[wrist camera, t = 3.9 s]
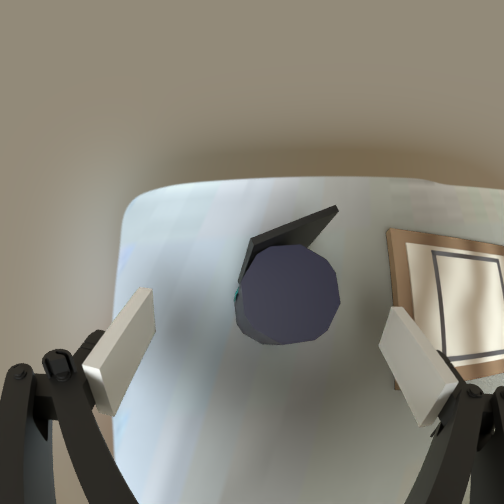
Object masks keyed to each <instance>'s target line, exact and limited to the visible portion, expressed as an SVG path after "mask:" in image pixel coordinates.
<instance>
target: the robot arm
mask: <svg viewBox="0 0 504 504" xmlns="http://www.w3.org/2000/svg"><path fill="white" fill-rule="evenodd" d="M155 332H156V329H155V318H154V305H153V290H152V289H150V288H141V287H139V288H138V289H137V291H136V292H135V293H134V295H133V296H132V297H131V298H130V300H129V301H128V302H127V304H126V305H125V306H124V308H123V309H122V310H121V312H120V313H119V314H118V315H117V317H116V318H115V319H114V321H113V322H112V324H111V325H110V326H109V328H108V329H107V330H106V331H103V330H96V331H95V332H93V333H91V334H90V335H89V336H88V337H87V338H86V340H85V341H84V343H83V344H82V345H81V347H80V348H79V349H78V350H77V352H76V353H75V354H74V355H73V356H72V355H71V353H70V352H69V351H67V350H64V349H55V350H52V351H49V352H48V353H46V354H45V355H44V357H43V358H42V364H43V367H44V370H45V372H46V374H35V373H34V372H33V369H32V368H31V366H29V365H28V364H24V363H21V364H16V365H14V366H12V367H11V368H10V369H9V370H8V372H7V375H6V378H5V382H4V386H3V391H2V395H1V400H0V504H56V499H55V488H54V476H53V456H52V420H58V421H59V425H60V428H61V431H62V434H63V438H64V441H65V444H66V447H67V450H68V453H69V456H70V458H71V461H72V464H73V467H74V469H75V472H76V474H77V477H78V479H79V482H80V484H81V486H82V488H83V491H84V493H85V495H86V498H87V500H88V502H89V504H139V503H138V502H137V500H136V498H135V497H134V495H133V493H132V492H131V490H130V488H129V487H128V485H127V483H126V481H125V480H124V478H123V476H122V474H121V472H120V470H119V469H118V467H117V465H116V463H115V461H114V459H113V457H112V455H111V453H110V451H109V449H108V447H107V445H106V443H105V440H104V438H103V436H102V434H101V432H100V429H99V427H98V425H97V422H96V420H95V417H94V415H93V413H92V409H93V407H94V405H95V404H96V407H97V409H98V412H99V413H103V414H106V415H110V416H114V417H115V415H116V412H117V410H118V408H119V406H120V404H121V402H122V399H123V397H124V395H125V393H126V391H127V389H128V387H129V385H130V383H131V381H132V378H133V376H134V374H135V372H136V370H137V368H138V366H139V364H140V362H141V360H142V358H143V356H144V354H145V352H146V350H147V348H148V346H149V344H150V342H151V340H152V338H153V336H154V334H155ZM378 347H379V348H380V350H381V352H382V354H383V356H384V358H385V360H386V362H387V364H388V365H389V367H390V369H391V371H392V373H393V375H394V377H395V379H396V381H397V383H398V385H399V387H400V389H401V391H402V393H403V395H404V397H405V399H406V401H407V403H408V405H409V407H410V409H411V411H412V413H413V416H414V418H415V420H416V422H417V424H418V426H419V427H424V426H429V425H432V424H433V423H434V421H435V420H436V418H437V417H439V419H440V421H441V422H440V423H439V425H438V426H437V427H436V429H435V430H434V432H433V433H432V434H431V436H430V437H433V435H434V437H433V440H432V443H431V445H430V448H429V451H428V453H427V456H426V458H425V461H424V463H423V465H422V468H421V470H420V472H419V475H418V477H417V479H416V481H415V483H414V485H413V488H412V490H411V492H410V494H409V496H408V498H407V500H406V502H405V503H404V504H462V501H463V498H464V495H465V491H466V488H467V485H468V481H469V477H470V474H471V489H470V504H504V386H499V387H497V389H496V390H495V392H494V393H493V394H484V393H483V391H482V389H480V388H479V387H478V386H476V385H474V384H466V382H465V381H464V379H463V378H462V377H461V375H460V374H459V372H458V371H457V370H456V368H454V366H453V364H452V363H451V361H450V360H449V359H448V357H447V356H446V355H445V354H443V353H442V352H441V351H440V350H436V349H435V348H434V347H433V345H432V344H431V343H430V341H429V340H428V339H427V337H426V336H425V335H424V334H423V332H422V331H421V330H420V328H419V327H418V326H417V324H416V323H415V322H414V321H413V319H412V318H411V317H410V316H409V314H408V313H407V312H406V311H405V309H404V308H403V307H391V309H390V312H389V316H388V319H387V322H386V325H385V328H384V331H383V334H382V337H381V340H380V343H379V345H378ZM494 429H495V432H494Z"/></svg>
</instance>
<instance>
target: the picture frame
mask: <svg viewBox="0 0 504 504" xmlns="http://www.w3.org/2000/svg"><path fill="white" fill-rule="evenodd" d="M386 238H387V245H388V253H389V262H390V271H391V282H392V294H393V307H403V308H404V309H405V311H406V312H407V313H408V314H409V316H410V317H411V318H412V319H413V321H414V322H415V323H416V324H417V326H418V327H419V328H420V330H421V331H422V332H423V334H424V335H425V336H426V337H427V339H428V340H429V341H430V343H431V344H432V345H433V347H434V348H435V349H436V350H440V351H441V352H442V353H443V354H445V355H446V356H447V357H448V359H449V360H450V361H451V363H452V364H453V366H454V368H456V370H457V371H458V372H459V374H460V375H461V377H462V378H463V379H464V381H467V380H472V379H477V378H482V377H486V376H491V375H495V374H500V373H504V246H499V245H494V244H488V243H483V242H477V241H471V240H465V239H459V238H453V237H447V236H441V235H434V234H428V233H421V232H414V231H407V230H400V229H393V228H390V229H389V230H388V231H387V232H386ZM395 390H401V389H400V387H399V385H398V383H397V381H396V379H395Z"/></svg>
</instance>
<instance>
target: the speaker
mask: <svg viewBox="0 0 504 504" xmlns="http://www.w3.org/2000/svg"><path fill="white" fill-rule="evenodd" d="M338 212H339V210H338V208H337V207H336V205H334V206H332V207H329V208H326V209H324V210H321V211H319V212H316V213H314V214H311V215H308V216H306V217H303V218H301V219H298V220H296V221H293V222H291V223H288V224H286V225H283V226H280V227H278V228H275V229H273V230H270V231H268V232H265V233H263V234H260V235H258V236H255V237H253V238H251V239H250V242H249V245H248V249H247V252H246V255H245V259H244V262H243V266H242V269H241V272H240V276H239V279H238V282H239V284H240V286H239V288H238V289H237V291H236V293H235V297H234V301H235V311H236V321H237V325H238V326H239V328H240V329H241V331H242V332H243V334H245V335H247V336H249V337H251V338H252V339H254V340H256V341H258V342H259V343H261V344H269V345H285V344H292V343H299V342H305V341H312V340H315V339H317V338H318V337H319V336H321V335H322V334H323V333H325V332H326V331H327V330H328V328H329V326H330V324H331V322H332V320H333V318H334V316H335V313H336V311H337V309H338V307H339V305H340V297H339V290H338V284H337V278H336V273H335V271H334V270H333V268H332V267H331V265H330V264H329V262H328V261H327V260H326V259H324V258H323V257H321V256H319V255H318V254H316V253H314V252H313V251H311V250H309V249H308V248H307V247H308V246H309V245H310V244H311V243H312V242H313V241H314V239H315V238H316V237H317V236H318V235H319V234H320V233H321V231H322V230H323V229H324V228H325V227H326V226H327V224H328V223H329V222H330V221H331V220H332V219H333V217H334V216H335V215H336V214H337V213H338Z"/></svg>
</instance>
